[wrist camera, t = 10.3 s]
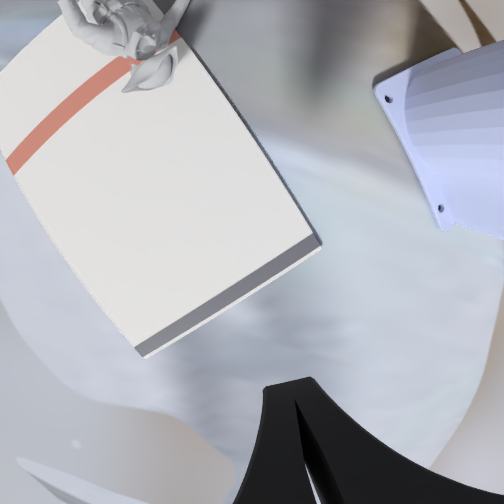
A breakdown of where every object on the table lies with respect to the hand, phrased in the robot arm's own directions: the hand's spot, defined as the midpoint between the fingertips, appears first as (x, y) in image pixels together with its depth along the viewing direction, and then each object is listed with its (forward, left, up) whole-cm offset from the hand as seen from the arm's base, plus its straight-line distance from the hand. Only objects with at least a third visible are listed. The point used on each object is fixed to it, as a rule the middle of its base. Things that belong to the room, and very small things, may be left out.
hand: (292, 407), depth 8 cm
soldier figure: (+17, -2, -9) cm, 20 cm away
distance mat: (+10, +2, -9) cm, 14 cm away
